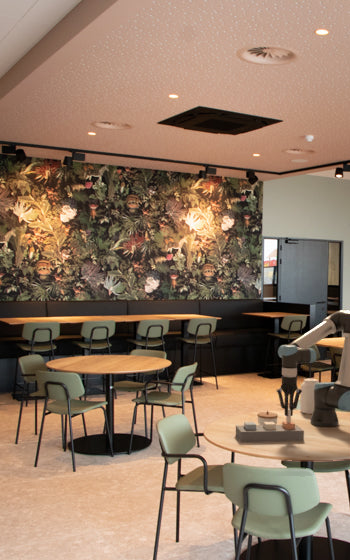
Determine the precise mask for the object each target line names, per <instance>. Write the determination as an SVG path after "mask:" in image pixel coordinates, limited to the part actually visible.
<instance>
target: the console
mask: <svg viewBox="0 0 350 560" xmlns="http://www.w3.org/2000/svg"><path fill="white" fill-rule="evenodd" d="M235 436H236V438H237V439H238V440H239V441H240V443H253V442H255V443H257V442H259V443H260V442H261V443H262V442H302V441H303V442H304V441H305V430H304V429H303V428H301V427H300V426H299V425H298V424H295V429H284V428H282V424H276V430H265V429H264V428H263V425H259V424H258V425H257V424H256V430H245V429H244V425H235Z"/></svg>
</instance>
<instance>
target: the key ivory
mask: <svg viewBox="0 0 350 560" xmlns="http://www.w3.org/2000/svg"><path fill="white" fill-rule="evenodd" d="M276 425H277V424H275V423H274V422H263V428H264V429H265V430H276Z"/></svg>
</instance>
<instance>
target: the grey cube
mask: <svg viewBox="0 0 350 560" xmlns="http://www.w3.org/2000/svg"><path fill="white" fill-rule="evenodd" d="M243 423H244V424H243V426H244V429H245V430H256V425H257V423H256V422H255V421H244V422H243Z"/></svg>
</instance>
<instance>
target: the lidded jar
mask: <svg viewBox="0 0 350 560" xmlns="http://www.w3.org/2000/svg"><path fill="white" fill-rule="evenodd" d="M278 417H279V416H278V413H275V412H270V411H268V410H267V411H261V412H258V413H257V423H258V425H263V422H274V423H275V424H276V425H278V424H277V423H278Z"/></svg>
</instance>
